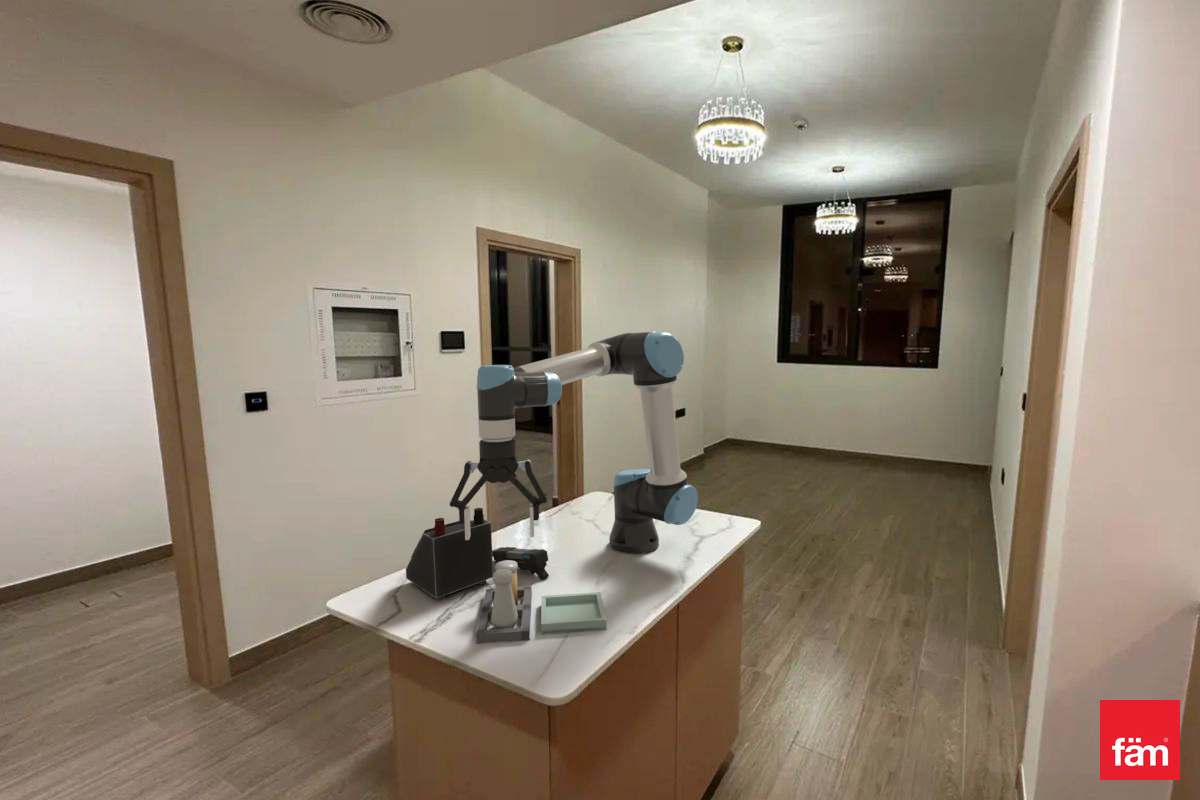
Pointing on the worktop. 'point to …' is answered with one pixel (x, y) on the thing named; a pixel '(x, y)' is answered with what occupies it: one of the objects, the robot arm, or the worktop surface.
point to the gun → (524, 559)
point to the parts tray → (572, 613)
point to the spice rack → (522, 610)
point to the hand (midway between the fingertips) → (500, 536)
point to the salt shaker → (503, 601)
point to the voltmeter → (452, 557)
